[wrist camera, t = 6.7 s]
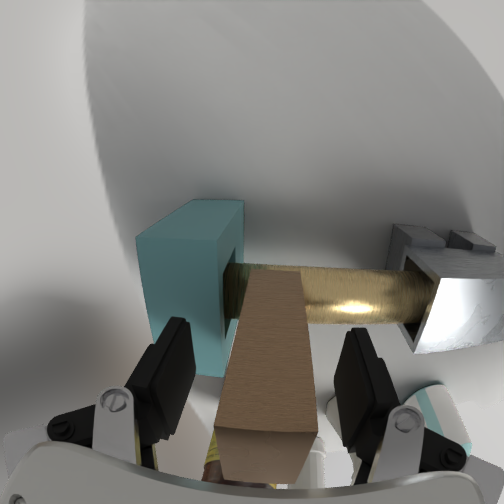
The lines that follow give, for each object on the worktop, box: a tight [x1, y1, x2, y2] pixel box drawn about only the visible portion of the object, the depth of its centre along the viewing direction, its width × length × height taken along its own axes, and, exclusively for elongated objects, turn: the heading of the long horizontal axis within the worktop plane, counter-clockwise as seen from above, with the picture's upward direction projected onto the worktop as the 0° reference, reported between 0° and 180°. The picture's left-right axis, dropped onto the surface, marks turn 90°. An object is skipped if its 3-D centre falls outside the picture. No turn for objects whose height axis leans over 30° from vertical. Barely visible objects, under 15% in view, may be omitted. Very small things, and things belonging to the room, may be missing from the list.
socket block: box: [135, 199, 244, 378], centre depth 17 cm, size 4×8×9 cm, turn 179°
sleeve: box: [385, 224, 504, 354], centre depth 16 cm, size 10×6×8 cm, turn 89°
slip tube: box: [214, 262, 434, 484], centre depth 11 cm, size 16×4×12 cm, turn 89°
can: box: [403, 385, 472, 457], centre depth 20 cm, size 7×7×12 cm
